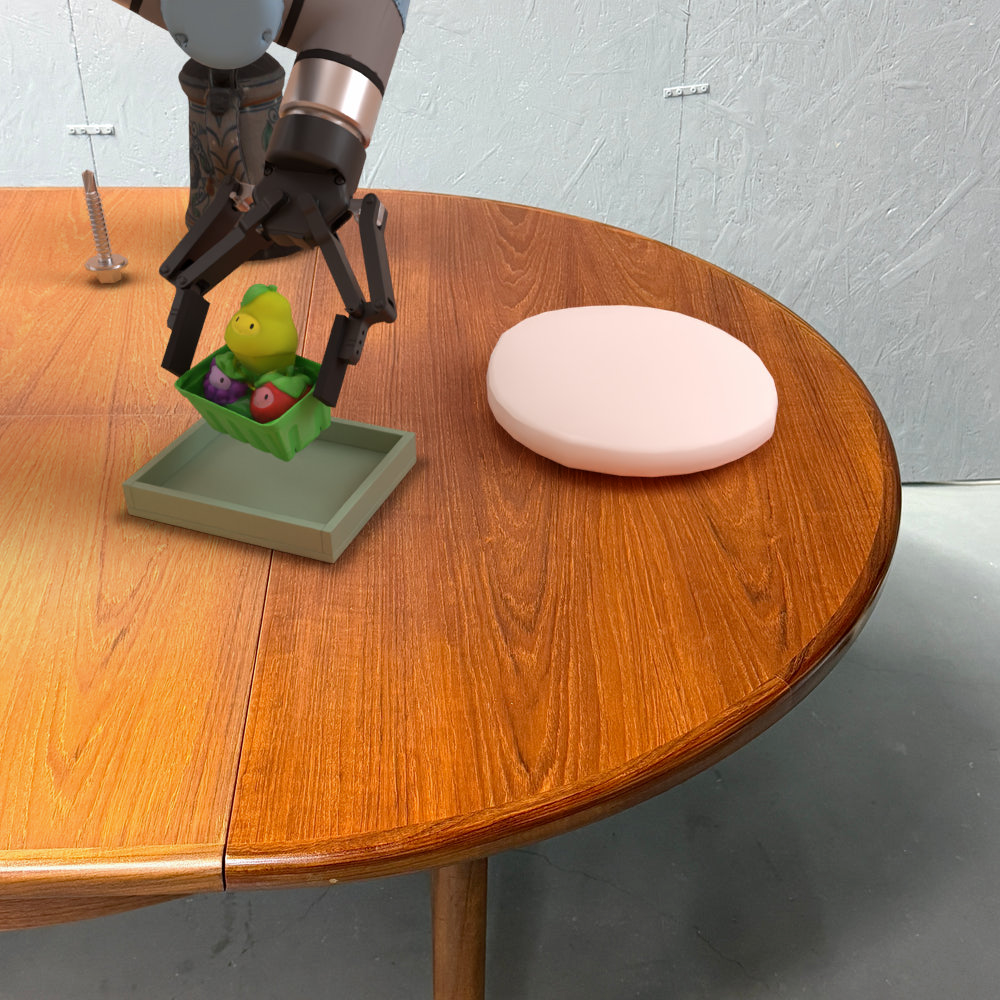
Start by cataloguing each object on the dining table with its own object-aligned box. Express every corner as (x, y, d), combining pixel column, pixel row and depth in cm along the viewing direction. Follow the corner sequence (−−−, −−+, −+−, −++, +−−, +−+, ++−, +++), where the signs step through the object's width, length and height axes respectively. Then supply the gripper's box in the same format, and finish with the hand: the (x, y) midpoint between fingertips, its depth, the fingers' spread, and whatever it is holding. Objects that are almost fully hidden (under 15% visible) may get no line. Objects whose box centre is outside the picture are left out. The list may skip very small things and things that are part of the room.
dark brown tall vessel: (292, 208, 148) (271, 11, 134) (349, 254, 134) (332, 40, 120) (172, 229, 141) (137, 24, 127) (220, 280, 127) (186, 56, 113)
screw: (79, 282, 126) (109, 268, 130) (110, 290, 124) (140, 276, 128) (54, 172, 119) (86, 160, 122) (87, 178, 117) (118, 166, 121)
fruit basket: (189, 433, 87) (139, 318, 80) (266, 373, 92) (225, 259, 84) (287, 479, 82) (243, 360, 74) (363, 412, 86) (329, 293, 79)
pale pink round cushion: (840, 417, 91) (545, 470, 84) (823, 477, 95) (540, 532, 88) (695, 264, 111) (447, 297, 104) (686, 319, 115) (447, 354, 109)
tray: (128, 514, 87) (121, 483, 85) (232, 424, 99) (227, 395, 97) (333, 564, 82) (330, 532, 80) (416, 462, 94) (415, 432, 92)
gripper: (479, 175, 86) (409, 429, 83) (213, 143, 93) (139, 376, 90) (452, 124, 79) (375, 399, 76) (166, 94, 86) (84, 345, 83)
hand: (247, 387), depth 83 cm, fingers closed on fruit basket, 12 cm apart
